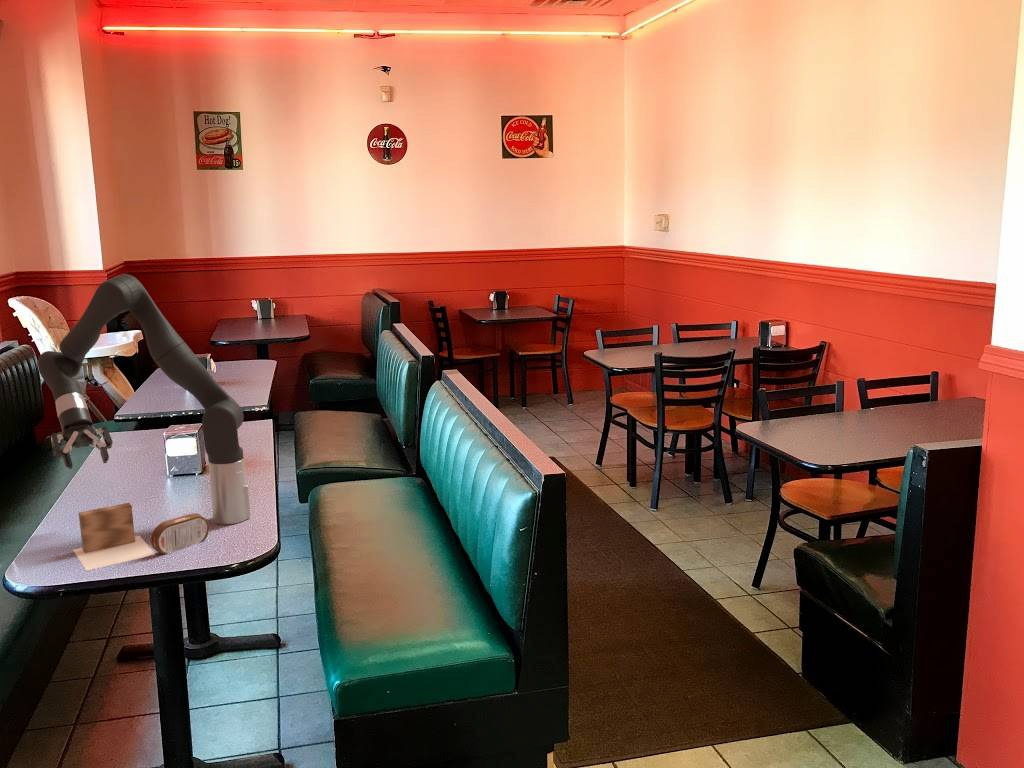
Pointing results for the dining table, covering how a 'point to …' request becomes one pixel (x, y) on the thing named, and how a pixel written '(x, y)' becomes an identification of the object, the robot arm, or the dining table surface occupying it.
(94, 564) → the placemat
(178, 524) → the tin
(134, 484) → the dining table surface
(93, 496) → the dining table surface
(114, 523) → the plaque
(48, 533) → the dining table surface
